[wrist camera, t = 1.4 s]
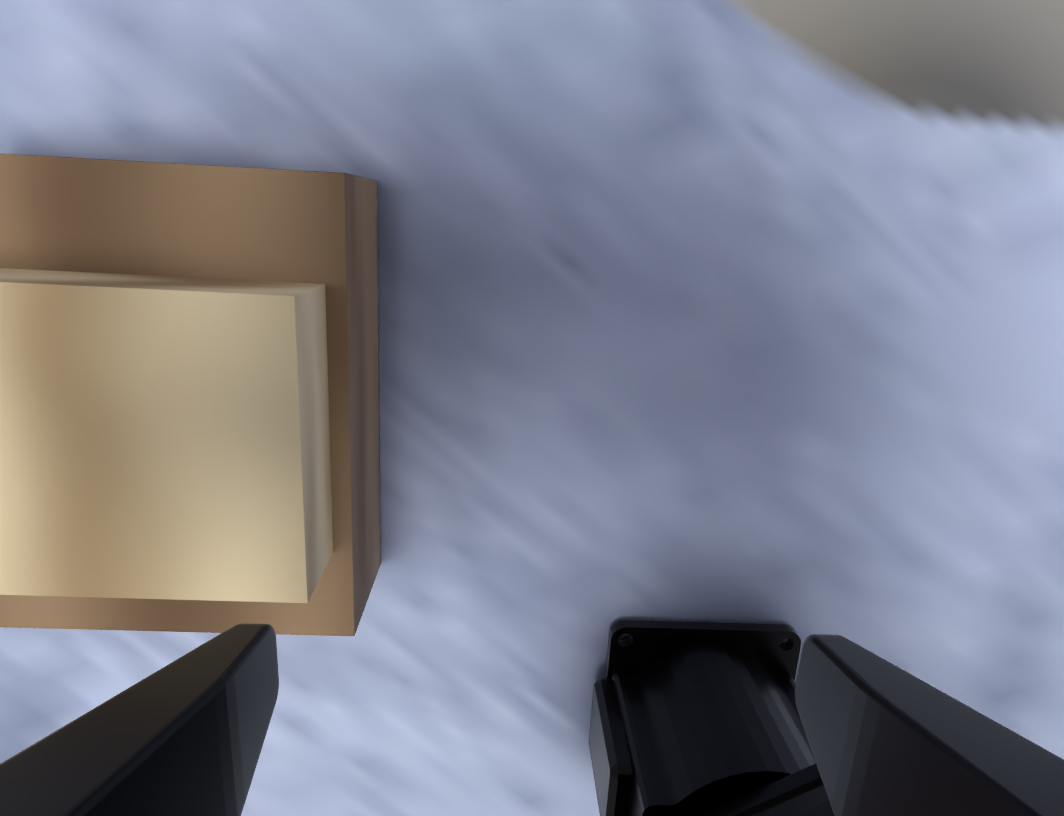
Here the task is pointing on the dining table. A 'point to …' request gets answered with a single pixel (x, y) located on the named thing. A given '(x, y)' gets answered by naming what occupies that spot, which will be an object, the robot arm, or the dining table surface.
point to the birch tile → (163, 437)
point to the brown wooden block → (239, 254)
